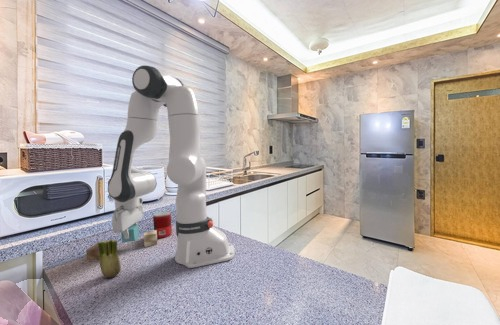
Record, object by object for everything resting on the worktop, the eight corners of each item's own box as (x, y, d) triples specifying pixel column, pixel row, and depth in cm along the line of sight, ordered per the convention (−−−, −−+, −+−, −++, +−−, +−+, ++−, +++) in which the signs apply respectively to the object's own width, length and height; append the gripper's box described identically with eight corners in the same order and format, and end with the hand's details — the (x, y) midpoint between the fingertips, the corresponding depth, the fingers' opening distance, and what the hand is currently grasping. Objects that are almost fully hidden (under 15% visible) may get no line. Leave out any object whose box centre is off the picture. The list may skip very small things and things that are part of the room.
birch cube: (157, 240, 102) (156, 229, 101) (157, 244, 97) (156, 233, 97) (145, 242, 100) (144, 231, 100) (144, 246, 95) (143, 235, 95)
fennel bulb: (98, 277, 72) (95, 241, 71) (113, 270, 76) (110, 236, 76) (109, 281, 70) (106, 244, 69) (124, 273, 74) (121, 238, 73)
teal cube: (139, 236, 96) (138, 225, 96) (134, 240, 91) (133, 229, 91) (127, 237, 96) (126, 226, 96) (122, 242, 91) (120, 230, 91)
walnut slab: (115, 251, 93) (115, 241, 93) (104, 259, 86) (103, 249, 86) (99, 251, 93) (98, 242, 93) (86, 260, 86) (86, 250, 86)
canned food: (175, 233, 109) (173, 211, 108) (161, 239, 102) (159, 216, 102) (165, 231, 113) (163, 210, 113) (151, 237, 106) (149, 214, 106)
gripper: (122, 208, 83) (127, 244, 83) (144, 197, 103) (147, 226, 104) (105, 210, 82) (109, 246, 83) (130, 199, 103) (133, 228, 103)
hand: (131, 235), depth 94 cm, fingers closed on teal cube, 5 cm apart
